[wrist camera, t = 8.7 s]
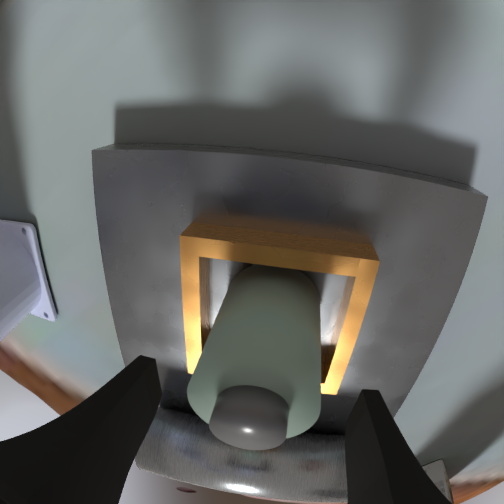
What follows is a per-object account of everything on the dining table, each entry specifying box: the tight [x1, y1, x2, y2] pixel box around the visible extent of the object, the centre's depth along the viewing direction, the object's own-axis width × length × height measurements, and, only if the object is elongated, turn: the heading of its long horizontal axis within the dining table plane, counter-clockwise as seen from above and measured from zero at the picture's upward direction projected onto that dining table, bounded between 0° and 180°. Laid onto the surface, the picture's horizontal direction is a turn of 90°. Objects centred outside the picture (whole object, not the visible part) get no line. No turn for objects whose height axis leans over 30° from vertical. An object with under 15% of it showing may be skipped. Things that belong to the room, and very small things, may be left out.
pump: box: [187, 264, 321, 450], centre depth 12 cm, size 4×4×7 cm
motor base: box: [92, 144, 488, 502], centre depth 15 cm, size 18×22×7 cm
